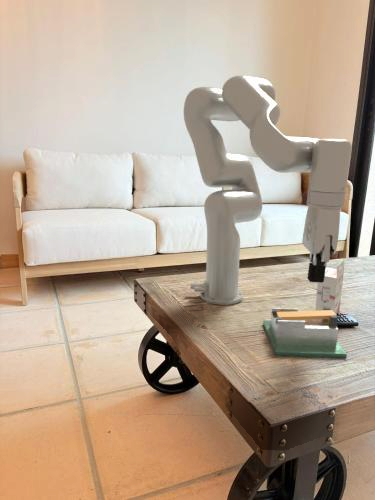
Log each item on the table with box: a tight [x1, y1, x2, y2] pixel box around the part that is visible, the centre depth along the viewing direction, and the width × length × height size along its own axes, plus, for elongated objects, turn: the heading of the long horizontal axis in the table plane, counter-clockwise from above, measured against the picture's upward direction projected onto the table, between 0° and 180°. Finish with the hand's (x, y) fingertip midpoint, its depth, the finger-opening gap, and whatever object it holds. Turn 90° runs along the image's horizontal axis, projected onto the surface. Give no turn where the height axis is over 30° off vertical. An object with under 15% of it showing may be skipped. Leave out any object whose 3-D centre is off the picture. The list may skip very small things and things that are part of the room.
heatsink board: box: [262, 307, 348, 359], centre depth 90 cm, size 15×16×7 cm
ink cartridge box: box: [314, 259, 345, 315], centre depth 105 cm, size 9×5×15 cm, turn 148°
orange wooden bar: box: [276, 310, 338, 320], centre depth 90 cm, size 13×3×1 cm, turn 89°
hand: (315, 280), depth 88 cm, fingers closed
